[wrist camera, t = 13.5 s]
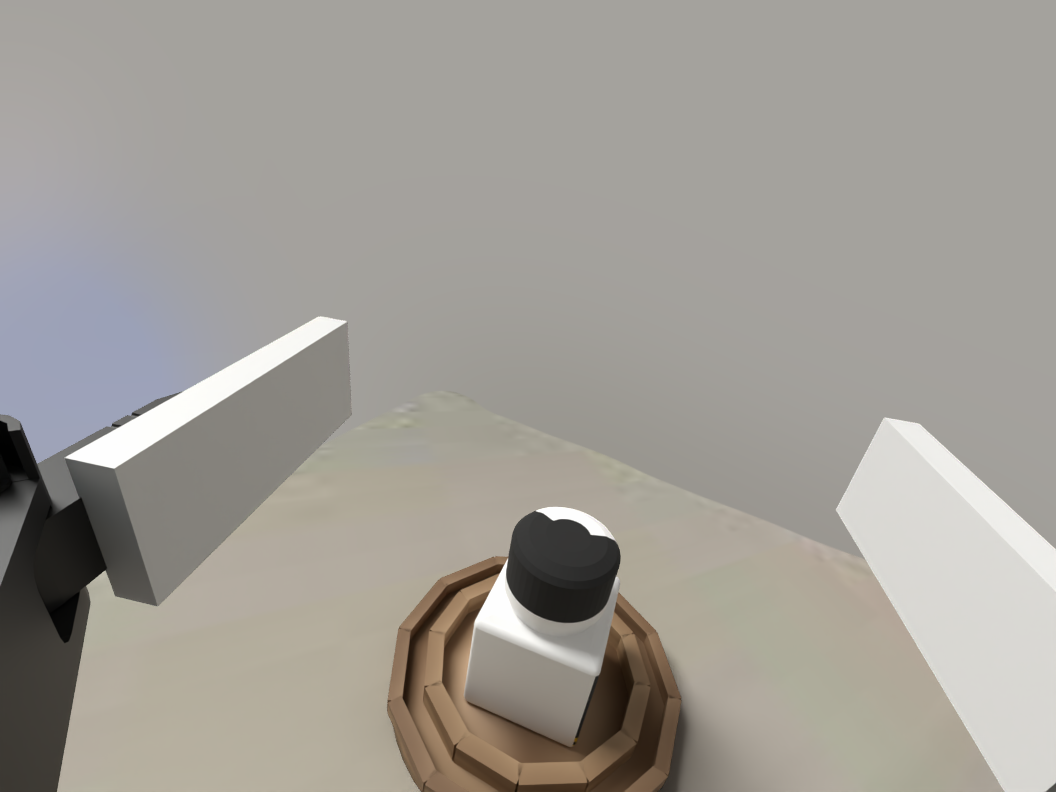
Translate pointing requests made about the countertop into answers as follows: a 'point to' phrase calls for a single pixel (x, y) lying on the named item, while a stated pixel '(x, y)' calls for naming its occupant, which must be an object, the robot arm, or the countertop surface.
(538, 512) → the medicine bottle
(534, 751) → the walnut tray
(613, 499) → the countertop surface
